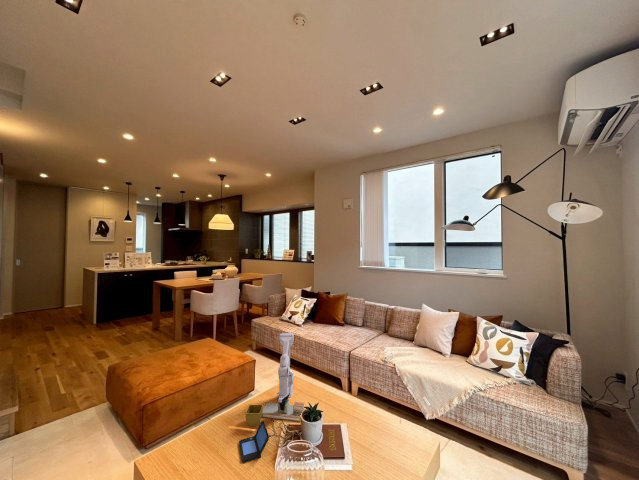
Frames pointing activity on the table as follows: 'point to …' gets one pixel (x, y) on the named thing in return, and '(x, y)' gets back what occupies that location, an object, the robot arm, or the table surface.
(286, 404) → the sage tin
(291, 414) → the shelf
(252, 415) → the flower pot
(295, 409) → the terracotta tin
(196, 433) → the table surface
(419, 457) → the table surface
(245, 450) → the handheld game console
